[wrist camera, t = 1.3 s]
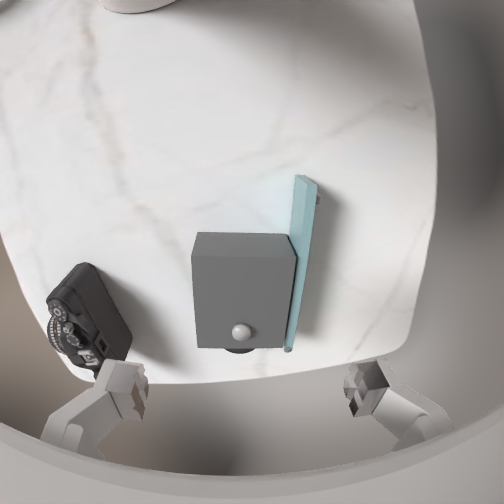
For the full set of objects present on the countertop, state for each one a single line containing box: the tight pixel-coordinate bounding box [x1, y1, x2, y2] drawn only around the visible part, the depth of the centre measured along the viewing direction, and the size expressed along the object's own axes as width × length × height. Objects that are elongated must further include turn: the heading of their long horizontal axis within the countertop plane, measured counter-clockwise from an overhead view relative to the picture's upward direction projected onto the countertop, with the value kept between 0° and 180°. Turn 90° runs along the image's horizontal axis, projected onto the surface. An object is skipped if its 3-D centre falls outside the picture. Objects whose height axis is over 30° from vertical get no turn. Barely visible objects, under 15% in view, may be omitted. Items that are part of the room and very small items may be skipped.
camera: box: [46, 262, 132, 380], centre depth 31 cm, size 14×11×10 cm
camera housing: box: [191, 232, 296, 354], centre depth 32 cm, size 13×10×7 cm
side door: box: [283, 175, 323, 352], centre depth 32 cm, size 20×2×5 cm, turn 177°
